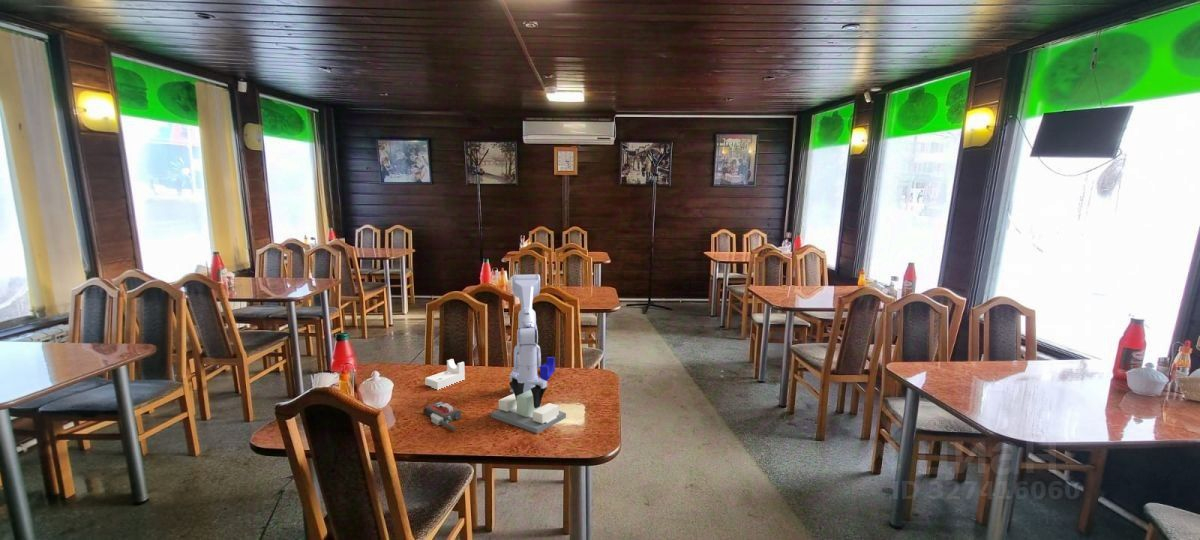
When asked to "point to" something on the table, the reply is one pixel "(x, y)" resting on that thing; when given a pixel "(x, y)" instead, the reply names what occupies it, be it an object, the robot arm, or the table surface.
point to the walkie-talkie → (442, 413)
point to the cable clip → (547, 368)
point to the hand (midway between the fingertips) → (528, 404)
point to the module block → (525, 404)
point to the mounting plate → (533, 422)
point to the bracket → (447, 376)
